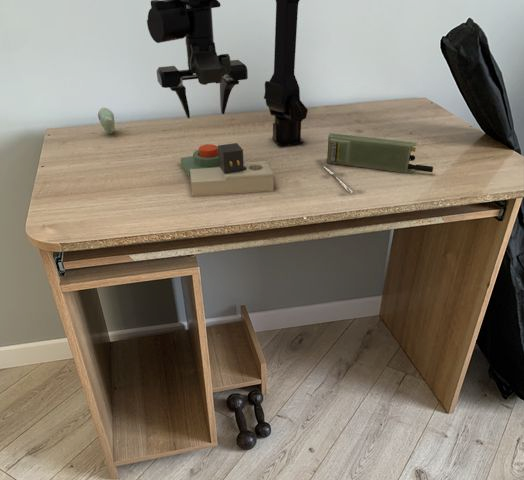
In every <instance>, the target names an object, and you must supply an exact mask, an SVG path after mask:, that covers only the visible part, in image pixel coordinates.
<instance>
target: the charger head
mask: <svg viewBox="0 0 524 480" xmlns="http://www.w3.org/2000/svg"><path fill="white" fill-rule="evenodd" d="M217 147H218V158H219V167H220V168H221V170H222V171H223V172H224V174H227V173H234V172H241V171H244V163H243V162H244V149H243V148H242V147H241V146H240V144H239V143H237V142H233V143H227V144H221V145H217Z"/></svg>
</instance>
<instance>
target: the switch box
mask: <svg viewBox="0 0 524 480" xmlns="http://www.w3.org/2000/svg"><path fill="white" fill-rule="evenodd" d="M180 165H181V166H182V168H183V170H184V172H185V173H186V175H187V177H188V178H189V179H190V180H191V176H190V169H201V168H217V167H219V158H218V156H215V157H210V158H205V157H201V156H200V155H199V149H197V150H195V151H193V153H192V155H191V156H184V157H180Z"/></svg>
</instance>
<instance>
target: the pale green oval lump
mask: <svg viewBox="0 0 524 480" xmlns="http://www.w3.org/2000/svg"><path fill="white" fill-rule="evenodd" d="M97 117H98V120H99V123H100V126H101V127H102V128H103V130H104V131H105V132H106V133H108V134H111V135H112V134H113V133H114V131H115V126H116V125H115V123H116V122H115V115H114V112H113V111H112V110H110V109H109V108H107V107H101V108H100V109H99V111H98V114H97Z"/></svg>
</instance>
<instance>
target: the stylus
mask: <svg viewBox="0 0 524 480" xmlns="http://www.w3.org/2000/svg"><path fill="white" fill-rule="evenodd" d="M322 167H323V168H324V169H325V170H326V171H327V172H328V173H329V174H330V175H332V176H334V177H335V178H336V179H337V181H338V182H339V183H340V185H341V186H342V187H343V188H344V189H345V191H346V192H347V193H348V194H350V193H351V194H353V189H351V188H350V187H348V186H347V185H346V184H345V183H344V182H343V181H341V180H340V178H338V176H336V173H334V172H333V170H332V171H331V170H330V169H329V168H327V167H326V166H325V165H322ZM330 175H329V176H330Z"/></svg>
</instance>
